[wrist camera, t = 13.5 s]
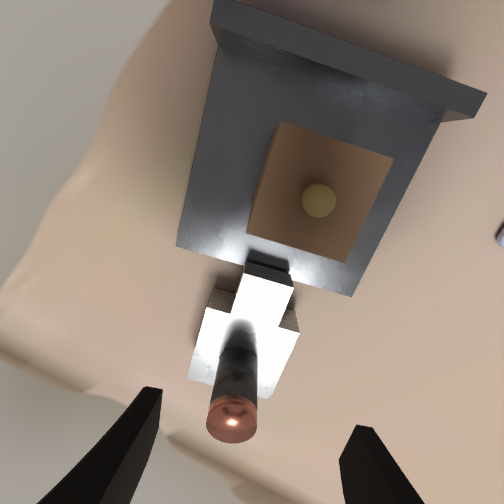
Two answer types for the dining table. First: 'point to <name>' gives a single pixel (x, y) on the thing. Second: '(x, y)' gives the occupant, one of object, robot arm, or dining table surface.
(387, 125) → the metal bracket
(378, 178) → the wooden block
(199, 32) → the dining table surface
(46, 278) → the dining table surface
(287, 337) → the ram
